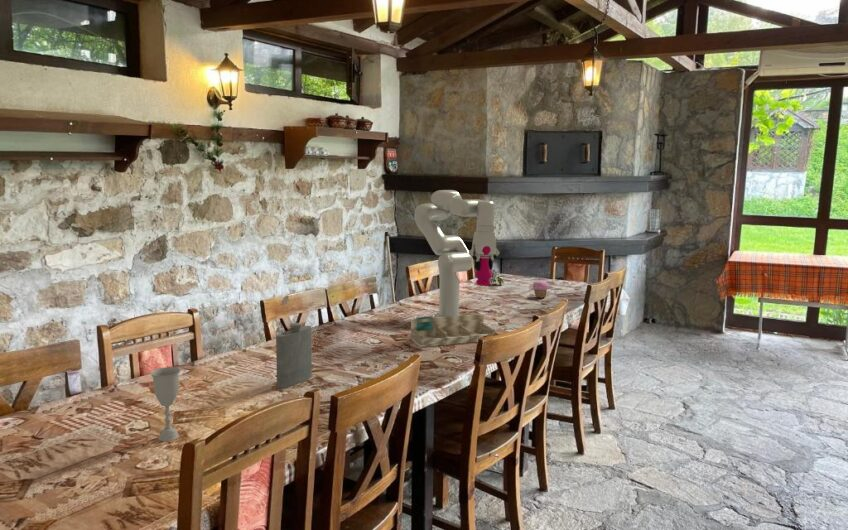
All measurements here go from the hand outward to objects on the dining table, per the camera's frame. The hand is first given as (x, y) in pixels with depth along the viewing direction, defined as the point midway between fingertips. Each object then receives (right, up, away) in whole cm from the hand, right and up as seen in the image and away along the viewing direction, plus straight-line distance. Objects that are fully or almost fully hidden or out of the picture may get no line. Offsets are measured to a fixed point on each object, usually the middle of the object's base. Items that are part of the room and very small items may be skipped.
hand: (483, 269), depth 281 cm
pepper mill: (0, -7, +1) cm, 7 cm away
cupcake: (+39, -17, +76) cm, 87 cm away
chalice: (-94, -44, -114) cm, 154 cm away
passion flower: (+17, -11, +114) cm, 116 cm away
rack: (-14, -30, -15) cm, 36 cm away
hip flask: (-69, -37, -70) cm, 105 cm away
